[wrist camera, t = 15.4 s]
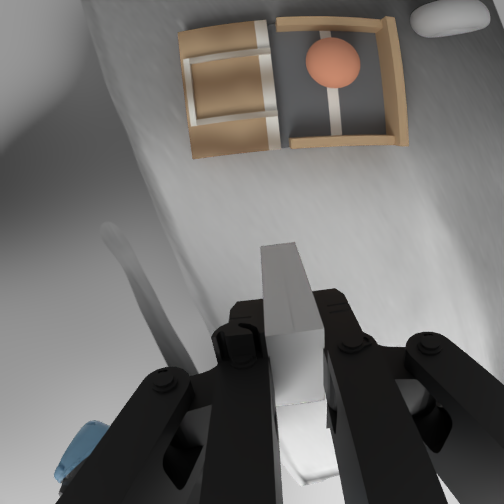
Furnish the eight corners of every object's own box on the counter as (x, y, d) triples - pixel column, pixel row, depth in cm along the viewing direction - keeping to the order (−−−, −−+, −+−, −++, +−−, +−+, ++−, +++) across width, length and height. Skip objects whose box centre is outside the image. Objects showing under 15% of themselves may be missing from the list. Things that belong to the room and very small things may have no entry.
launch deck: (279, 147, 33) (281, 149, 30) (197, 156, 34) (191, 160, 31) (265, 26, 28) (266, 18, 25) (183, 37, 28) (176, 30, 26)
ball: (327, 92, 25) (289, 77, 28) (363, 97, 28) (326, 82, 31) (341, 38, 22) (300, 28, 25) (376, 50, 25) (337, 38, 28)
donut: (403, 45, 28) (446, 26, 18) (391, 19, 26) (430, -7, 17) (463, 36, 26) (511, 23, 17) (453, 13, 25) (498, -6, 16)
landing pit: (392, 142, 32) (408, 146, 28) (279, 147, 33) (282, 150, 29) (380, 27, 27) (394, 17, 23) (265, 26, 28) (266, 13, 24)
